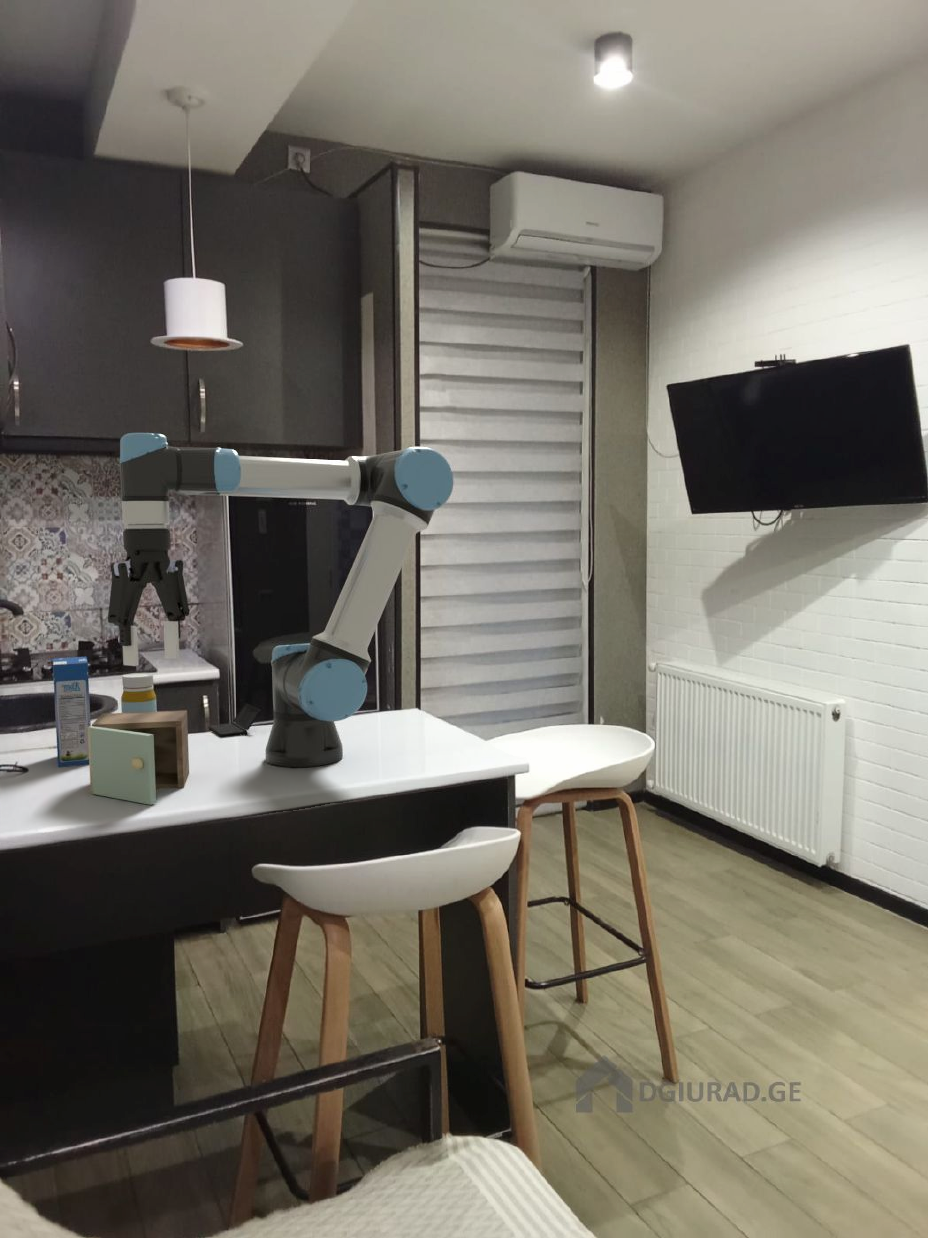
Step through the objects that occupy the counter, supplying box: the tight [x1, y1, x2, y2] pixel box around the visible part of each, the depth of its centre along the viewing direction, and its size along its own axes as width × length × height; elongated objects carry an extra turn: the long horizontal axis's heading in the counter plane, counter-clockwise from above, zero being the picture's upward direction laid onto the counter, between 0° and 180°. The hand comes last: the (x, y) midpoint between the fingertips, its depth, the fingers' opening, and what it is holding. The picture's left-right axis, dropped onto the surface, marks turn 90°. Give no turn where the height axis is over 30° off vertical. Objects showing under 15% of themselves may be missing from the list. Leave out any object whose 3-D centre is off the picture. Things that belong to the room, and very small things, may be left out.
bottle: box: [120, 672, 158, 713], centre depth 203 cm, size 7×7×15 cm
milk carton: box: [52, 656, 92, 768], centre depth 190 cm, size 10×6×20 cm, turn 23°
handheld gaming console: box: [207, 702, 261, 738], centre depth 217 cm, size 12×7×10 cm
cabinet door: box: [88, 725, 157, 806], centre depth 162 cm, size 15×2×12 cm, turn 61°
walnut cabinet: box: [91, 709, 190, 789], centre depth 173 cm, size 15×10×12 cm, turn 101°
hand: (152, 661), depth 162 cm, fingers open, 8 cm apart
